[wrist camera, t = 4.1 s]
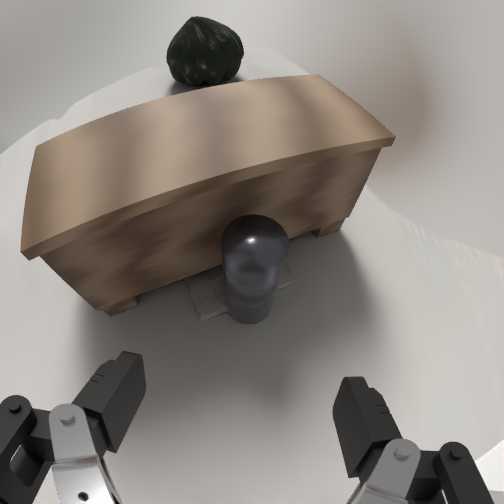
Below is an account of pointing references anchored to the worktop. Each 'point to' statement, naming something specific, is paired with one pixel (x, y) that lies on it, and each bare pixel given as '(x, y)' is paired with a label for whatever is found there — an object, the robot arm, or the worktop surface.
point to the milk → (492, 472)
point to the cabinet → (193, 181)
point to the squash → (204, 52)
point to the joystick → (244, 271)
